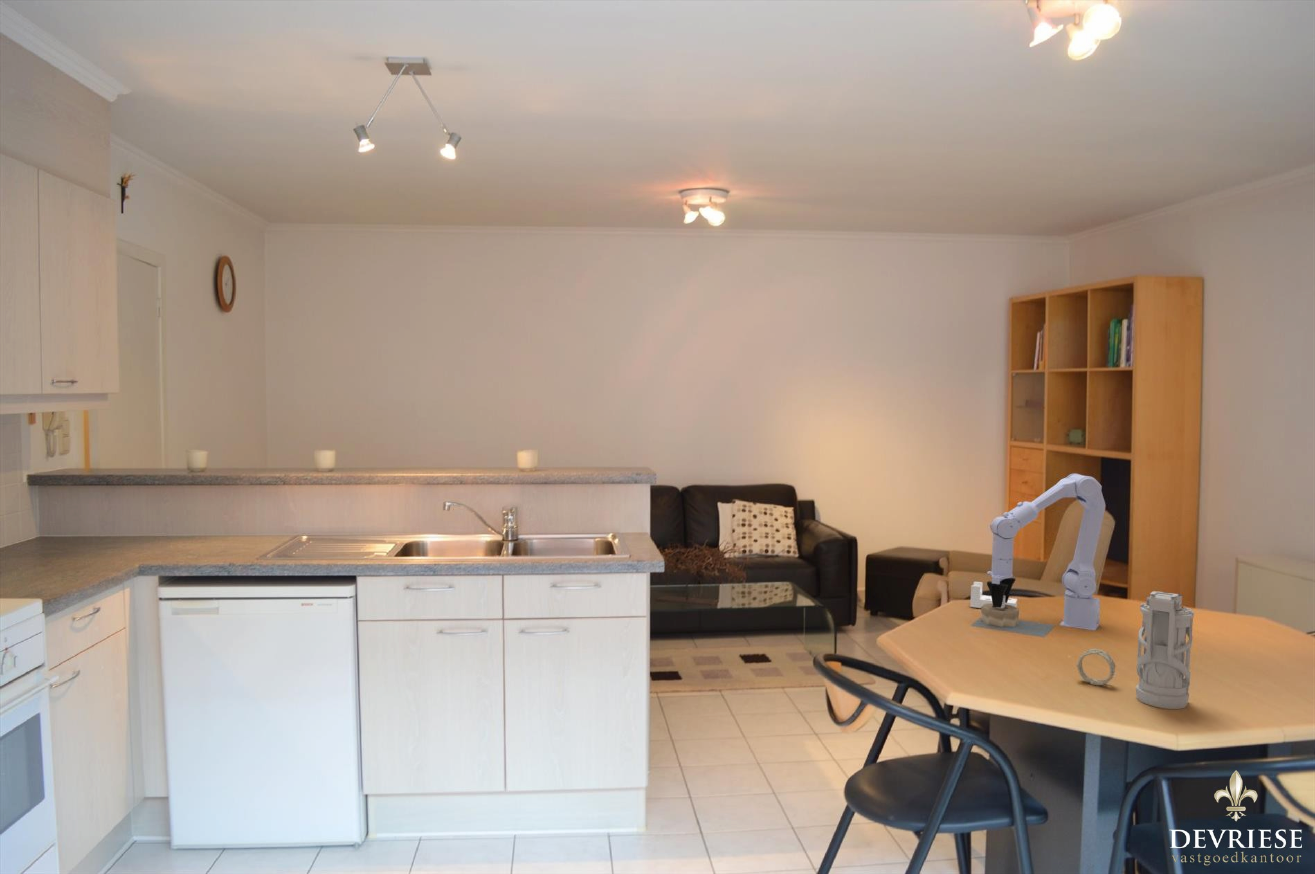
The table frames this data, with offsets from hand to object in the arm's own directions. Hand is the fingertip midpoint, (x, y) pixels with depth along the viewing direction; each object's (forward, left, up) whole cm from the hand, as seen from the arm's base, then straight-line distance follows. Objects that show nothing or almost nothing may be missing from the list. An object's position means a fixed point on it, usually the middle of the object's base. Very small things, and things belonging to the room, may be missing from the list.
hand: (1000, 604), depth 275 cm
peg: (0, 0, -5) cm, 5 cm away
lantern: (-46, +51, -6) cm, 69 cm away
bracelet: (-32, +45, -6) cm, 56 cm away
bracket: (+6, -18, -6) cm, 20 cm away
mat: (-4, +1, -6) cm, 7 cm away
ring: (0, 0, -5) cm, 5 cm away
